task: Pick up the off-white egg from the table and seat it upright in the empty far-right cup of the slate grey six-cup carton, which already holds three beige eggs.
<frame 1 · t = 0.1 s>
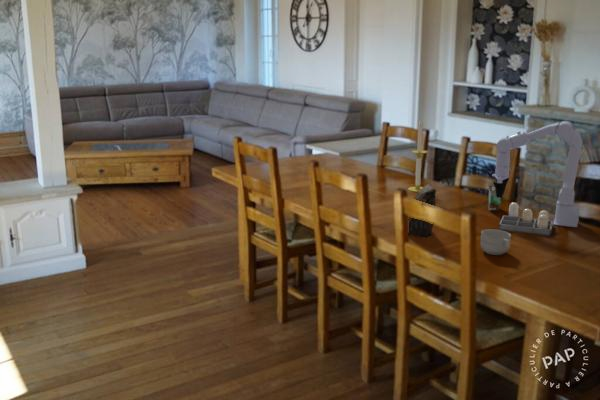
hand: (500, 195, 282), 10 cm above the table, tool pointing down, fingers open, 7 cm apart
carton: (525, 228, 269), on the table
food container: (495, 209, 297), on the table
white egg: (513, 217, 283), on the table
seated eggs: (525, 228, 269), resting on carton
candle: (417, 189, 332), on the table
teacup: (496, 254, 240), on the table
owl: (418, 232, 265), on the table
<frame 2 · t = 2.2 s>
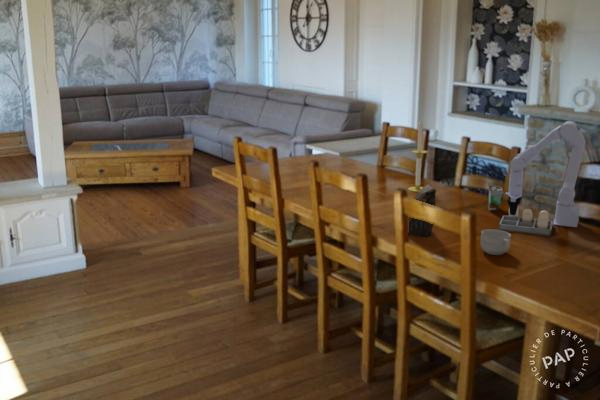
hand: (513, 213, 283), 2 cm above the table, tool pointing down, fingers closed on white egg, 4 cm apart
white egg: (513, 217, 283), on the table, touching gripper
everything else where it was.
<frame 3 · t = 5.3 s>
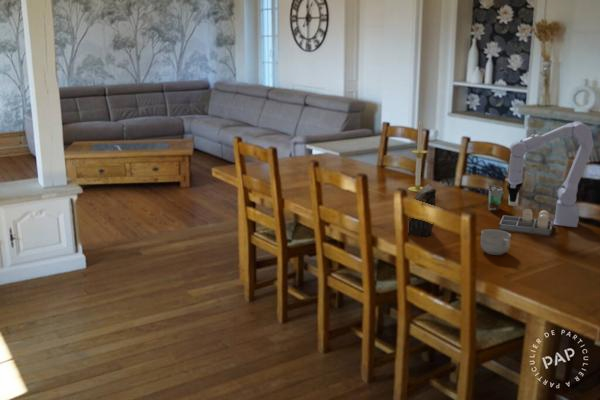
hand: (513, 200, 276), 9 cm above the table, tool pointing down, fingers closed on white egg, 4 cm apart
white egg: (512, 204, 277), point 7 cm above the table, touching gripper
everything else where it was.
when the fingers open (4 cm above the table, at t = 8.5 s): white egg drops 1 cm, resting on carton.
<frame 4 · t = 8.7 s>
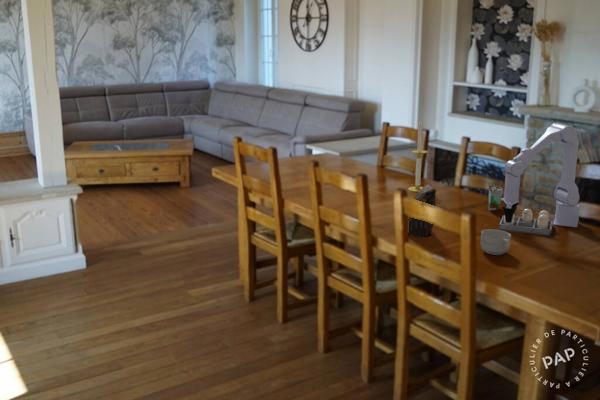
hand: (509, 220, 268), 4 cm above the table, tool pointing down, fingers open, 5 cm apart
white egg: (508, 227, 269), point 1 cm above the table, touching carton
everything else where it was.
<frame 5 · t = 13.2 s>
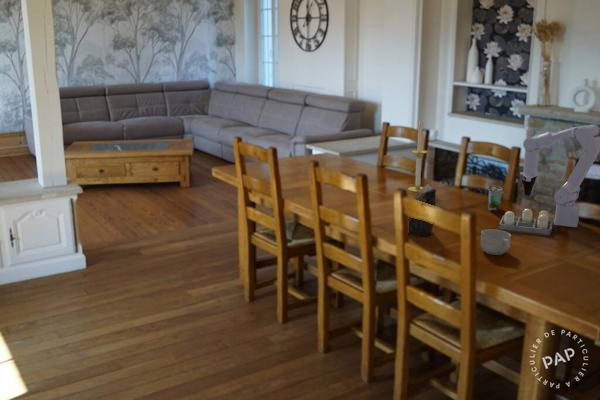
hand: (528, 193, 285), 10 cm above the table, tool pointing down, fingers open, 7 cm apart
nothing on the table moved.
at the end: white egg 0.1 cm from the target spot on the carton, point 0.6 cm above the carton's base; white egg tilted 0°; the gripper is holding nothing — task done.
